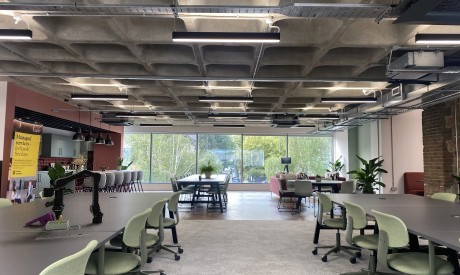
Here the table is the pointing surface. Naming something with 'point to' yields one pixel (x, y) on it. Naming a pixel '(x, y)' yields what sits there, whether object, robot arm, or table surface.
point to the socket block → (74, 227)
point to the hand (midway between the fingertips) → (57, 219)
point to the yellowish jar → (59, 220)
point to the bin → (57, 225)
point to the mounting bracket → (43, 219)
